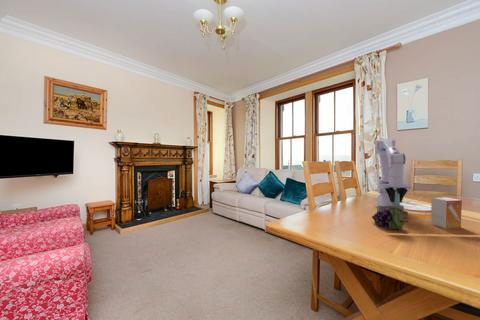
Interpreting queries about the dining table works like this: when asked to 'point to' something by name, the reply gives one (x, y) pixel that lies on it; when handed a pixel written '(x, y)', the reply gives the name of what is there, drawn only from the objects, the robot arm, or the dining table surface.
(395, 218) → the fruit
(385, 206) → the board
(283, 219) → the dining table surface
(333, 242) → the dining table surface
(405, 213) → the block
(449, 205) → the small box
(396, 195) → the dowel
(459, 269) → the dining table surface
